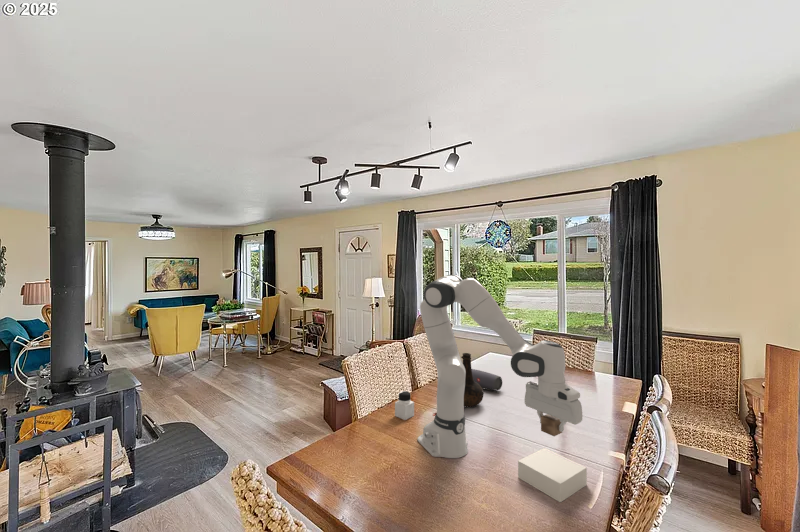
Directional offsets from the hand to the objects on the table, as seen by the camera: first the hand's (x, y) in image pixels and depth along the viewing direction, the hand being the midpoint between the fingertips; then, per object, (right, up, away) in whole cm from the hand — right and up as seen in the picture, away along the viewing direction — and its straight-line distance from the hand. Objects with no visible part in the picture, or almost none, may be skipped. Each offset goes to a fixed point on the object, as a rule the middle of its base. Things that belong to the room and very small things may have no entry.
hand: (551, 427), depth 122 cm
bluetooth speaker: (-1, -20, +96) cm, 98 cm away
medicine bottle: (-51, -19, +53) cm, 76 cm away
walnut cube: (0, -2, 0) cm, 2 cm away
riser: (0, -19, 0) cm, 19 cm away
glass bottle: (-17, -20, +69) cm, 73 cm away
